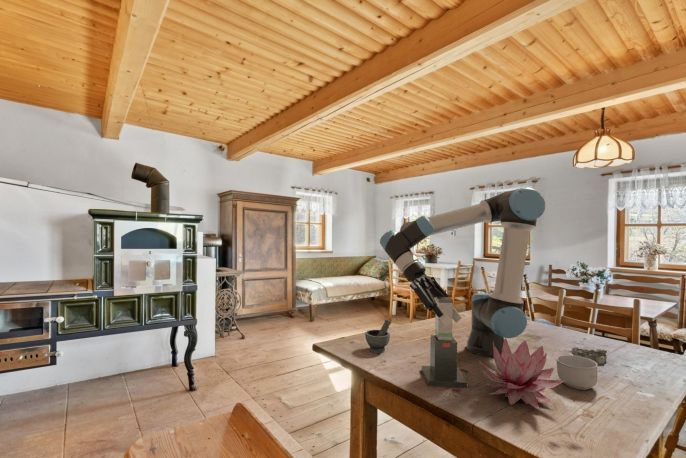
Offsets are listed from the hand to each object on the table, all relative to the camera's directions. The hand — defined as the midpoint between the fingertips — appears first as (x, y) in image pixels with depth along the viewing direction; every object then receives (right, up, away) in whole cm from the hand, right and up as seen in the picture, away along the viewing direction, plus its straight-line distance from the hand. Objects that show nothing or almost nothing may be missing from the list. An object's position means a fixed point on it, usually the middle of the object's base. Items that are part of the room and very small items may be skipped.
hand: (454, 322), depth 108 cm
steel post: (-3, -13, +2) cm, 13 cm away
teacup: (+39, -20, 0) cm, 44 cm away
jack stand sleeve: (-3, -19, +2) cm, 19 cm away
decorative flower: (+15, -20, -10) cm, 27 cm away
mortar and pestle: (-21, -19, +28) cm, 40 cm away
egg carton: (+59, -20, +21) cm, 66 cm away
